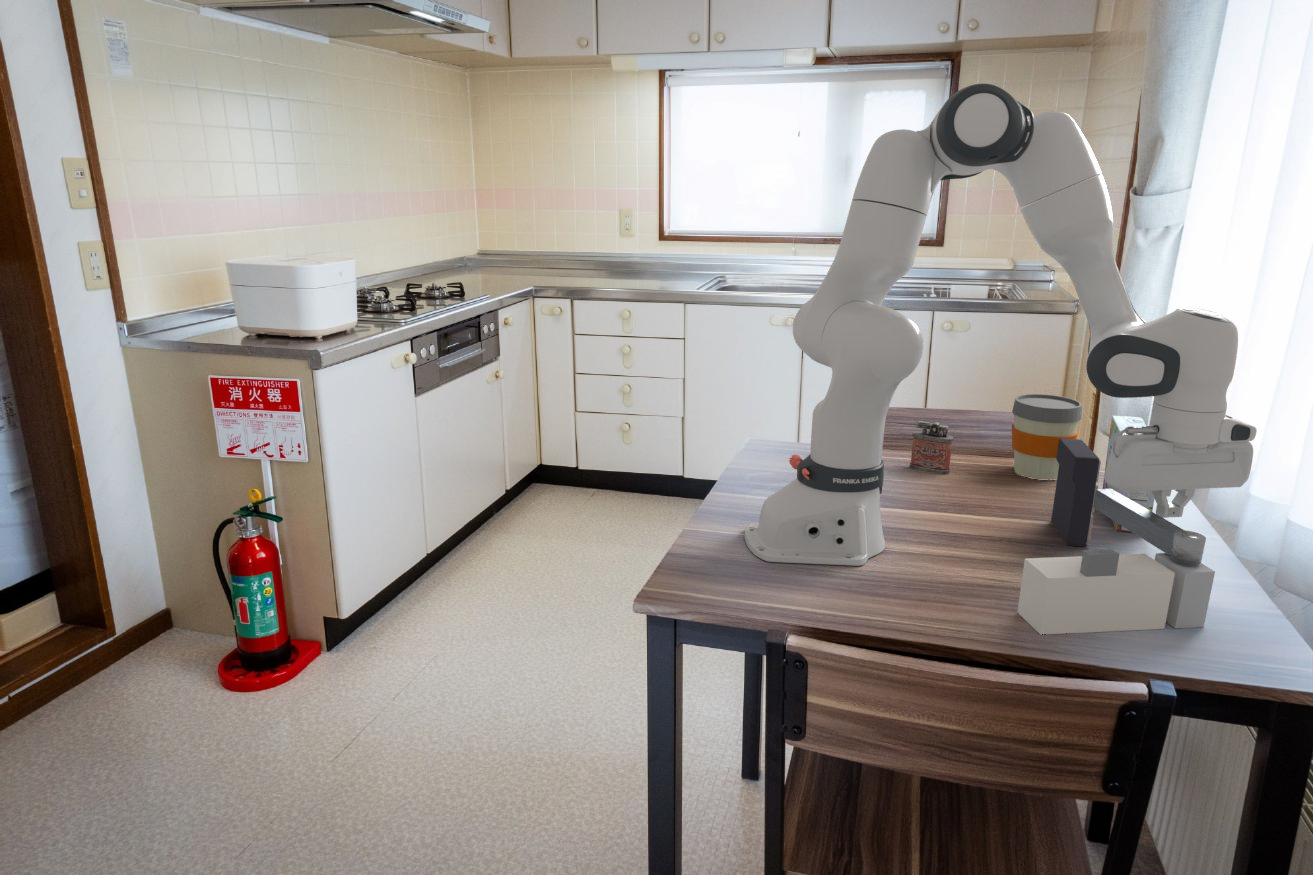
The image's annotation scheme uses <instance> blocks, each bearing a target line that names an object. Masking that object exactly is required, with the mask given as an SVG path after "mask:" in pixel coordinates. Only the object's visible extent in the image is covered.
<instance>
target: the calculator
mask: <svg viewBox="0 0 1313 875" xmlns="http://www.w3.org/2000/svg"><path fill="white" fill-rule="evenodd" d="M1056 459H1057V461H1058V463H1059V469H1058V476H1057V480H1056V483H1055V484H1056V486H1055V491H1054V497H1053V504H1052V513H1051V519H1050V520H1051V523H1052V524H1053V525H1054V527H1055V529H1056V531H1057V532H1058V534H1059V535H1060V538H1061V539H1062V540H1063V541H1064V544H1065V545H1066V546H1073V547H1086V546H1087V544H1090V542H1091V536H1092V530H1093V529H1092V528H1093V522H1094V515H1093V514H1095V512H1096V511H1095V510H1096V509H1094V508H1093V505H1094V498H1095V492H1096V489H1099V485H1098V482H1099V476H1100V472H1101V471H1100V470H1101V464H1102V461H1101V459H1100V457H1098V456H1097V455H1096V453H1095V452H1094V451H1093V450H1092V449H1091V448H1090V447H1089V445H1087V444H1086V442H1084V441H1083V440H1082V439H1078V438H1076V439H1061V438H1060V439H1059V442H1058V449H1057V456H1056Z"/></svg>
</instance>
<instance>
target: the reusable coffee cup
mask: <svg viewBox="0 0 1313 875" xmlns="http://www.w3.org/2000/svg"><path fill="white" fill-rule="evenodd" d="M1014 398H1015V399H1014V402H1013V406H1012V411H1011V412H1012V414H1013V423H1012V425H1011V447H1012V449H1013V450H1014V451H1013V452H1014V453H1013V456H1014V462H1013V463H1014V470H1015V471H1014V473H1015V472H1016V473H1019V474H1020V475H1024V476H1026V477H1032V478H1035V479H1048V480H1050V479H1052V480H1053V479H1057V476H1058V469H1059V463H1058V461H1057V459H1056V456H1057V449H1058V442H1059V439H1060V438H1061V439H1078V438H1077V437H1078V433H1079V432H1078V430H1077V429H1078V426H1079V422H1080V421H1081V420H1082V414H1083V412H1082V411H1083V409H1082V408H1083V403H1082V402H1080V401H1079V400H1077V399H1075V398H1070V397H1066V396H1061V395H1056V394H1047V393H1046V394H1045V393H1029V394H1028V393H1027V394H1020V395H1018V396H1016V397H1014ZM1016 473H1015V474H1016ZM1020 475H1019V476H1020Z"/></svg>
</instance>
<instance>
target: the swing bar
mask: <svg viewBox="0 0 1313 875" xmlns="http://www.w3.org/2000/svg"><path fill="white" fill-rule="evenodd" d="M1093 508H1094V509H1095V510H1096V511H1098V512H1099V513H1100V514H1102V515H1104V516H1106V517H1107V518H1108V519H1110V520H1111V521H1112V520H1114V521H1115V522H1117V523H1118V524H1120V525H1122V526H1123V527H1125V528H1126V529H1128V530H1129V531H1131V532H1130V533H1132V532H1133V534H1134V535H1136V536H1137V537H1139V538H1141V539H1143V540H1144V541H1145V542H1147V543H1149V544H1150V545H1152V546H1153V547H1155V548H1157V549H1158V550H1160V551H1162V553H1166V554H1168V555H1169V556H1170V558H1171V559H1172V560H1173V561H1175V562H1178V563H1181V564H1185V565H1199V564H1201V563H1202V561H1203V556H1204V550H1205V545H1206V541H1207V538H1206V536H1205V535H1204V534H1201V533H1199V532H1195V531H1191V530H1185V529H1183V528H1181V527H1179V526H1178V525H1176V524H1174V523H1172V522H1170V520H1167V519H1166V518H1162V517H1160V516H1159V515H1157V514H1156V512H1153V511H1150V510H1148V509H1146V508H1145V507H1143V506H1141V505H1139V504H1137V503H1136V502H1134V501H1132V500H1130V499H1129V498H1127V497H1125V496H1123V495H1122V494H1120V493H1118V492H1116V491H1115V490H1113V489H1103V488H1098V489H1096V492H1095V498H1094V505H1093Z"/></svg>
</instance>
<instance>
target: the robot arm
mask: <svg viewBox="0 0 1313 875" xmlns="http://www.w3.org/2000/svg"><path fill="white" fill-rule="evenodd" d="M992 169H993V171H996V172H998V173H1000V174H1001V175H1003V176H1004V177H1005V179H1006V180H1007V182H1008V183H1009V184H1010V186H1011V188H1013V191H1014V195H1015V198H1016V201H1017V204H1018V206H1019V208H1020V211H1021V215H1022V217H1023V219H1024V221H1025V225H1027V228H1028V229H1029V231H1030V233H1031V235H1032V236H1033V238H1034V240H1035V241H1036V243H1037V245H1038V246H1039V247H1040V249H1041V250H1042V251H1043V252H1044V253H1045V254H1047V256H1050V257H1051V258H1053V260H1055V261H1056V262H1057V263H1058V264H1059V265H1060V266H1061V267H1062V268H1063V269H1064V270H1065V273H1067V276H1069V278H1070V281H1071V282H1072V285H1073V287H1074V289H1075V292H1076V294H1077V297H1078V299H1079V301H1080V304H1081V307H1082V309H1083V313H1084V315H1085V318H1086V319H1087V323H1088V328H1089V339H1088V346H1087V347H1088V348H1087V360H1086V364H1085V365H1086V366H1085V367H1086V374H1087V377H1088V379H1089V382H1090V383H1091V385H1092V386H1093V387H1094V388H1095V389H1096V390H1097V391H1099V392H1101V393H1102V394H1104V395H1105V396H1109V397H1111V398H1112V397H1113V398H1119V399H1120V398H1122V399H1124V398H1125V399H1131V398H1136V399H1137V398H1148V397H1150V398H1151V397H1153V402H1152V408H1151V412H1150V413H1151V414H1150V418H1149V424H1148V425H1146V426H1142V427H1135V426H1130V427H1126V428H1125V430H1122V431H1121V432H1119V433H1118V434H1117V435H1116V436H1115V438H1114V443H1113V448H1112V450H1111V453H1110V456H1109V459H1108V463H1107V466H1106V465H1105V466H1106V470H1105V469H1104V474H1105V475H1103V480H1104V479H1105V481H1106V483H1107V484H1108V485H1109V486H1110V487H1112V488H1114V489H1116V490H1118V491H1120V492H1132V491H1152V494H1153V496H1154V502H1155V503H1156V507H1155V514H1157V515H1159V516H1160V517H1162V518H1164V519H1166V518H1167V519H1168V518H1182V516H1183V514H1184V508H1185V507H1186V506H1187V505H1188V503H1189V502H1190V501H1191V500H1192V499H1193V497H1194V496H1195V492H1196V490H1199V489H1200V490H1202V489H1205V490H1207V489H1223V488H1224V489H1226V488H1227V489H1229V488H1230V489H1231V488H1240V487H1243V485H1245V484H1246V483H1247V482H1248V480H1249V477H1250V474H1251V469H1252V466H1253V465H1252V463H1253V458H1254V446H1253V444H1252V443H1251V442H1252V441H1254V440H1255V438H1256V436H1257V431H1258V430H1257V428H1256V426H1254V425H1251V424H1249V423H1247V422H1244V421H1242V420H1238V419H1236V418H1234V417H1232V416H1230V415H1228V414H1227V408H1228V402H1227V392H1228V389H1229V387H1230V385H1231V383H1232V380H1233V379H1234V374H1235V369H1236V364H1237V363H1236V362H1237V356H1238V349H1239V348H1238V347H1239V346H1238V345H1239V332H1238V328H1237V325H1235V323H1234V322H1233V321H1232V319H1230V318H1229V317H1227V316H1225V315H1223V314H1220V313H1218V312H1215V311H1211V310H1207V309H1202V308H1197V307H1178V308H1177V309H1175V310H1174V311H1172V312H1170V313H1168V314H1166V315H1164V316H1161V317H1159V318H1156V319H1154V320H1150V321H1148V322H1147V321H1146V320H1144V319H1143V318H1142V316H1140V315H1139V314H1138V313H1137V311H1136V309H1135V308H1134V306H1133V303H1132V301H1131V299H1130V296H1129V293H1128V291H1127V289H1126V286H1125V283H1124V280H1123V279H1122V276H1121V275H1122V274H1120V273H1121V272H1120V270H1119V267H1118V265H1117V261H1116V258H1115V253H1114V252H1115V251H1114V241H1113V240H1114V239H1113V238H1114V219H1113V210H1112V204H1111V199H1110V195H1109V192H1108V189H1107V184H1106V182H1105V178H1104V176H1103V174H1102V170H1101V168H1100V166H1099V163H1098V161H1097V158H1096V156H1095V154H1094V152H1093V150H1092V148H1091V145H1090V144H1089V141H1088V140H1087V138H1086V137H1085V135H1084V134H1083V132H1082V130H1081V128H1080V127H1079V125H1078V124H1077V123H1076V121H1075V120H1074V119H1073V118H1072V116H1070V114H1068V113H1066V112H1063V111H1054V110H1053V111H1045V112H1040V113H1038V114H1035V115H1034V113H1033V111H1032V110H1031V109H1030V108H1028V107H1027V106H1025V105H1024V104H1022V103H1021V102H1020V101H1018V100H1017V99H1016V98H1014V97H1013V95H1011V94H1010V92H1008V91H1006V90H1005V89H1004V88H1001V87H1000V86H997V85H994V84H989V83H976V84H971V85H967V86H966V87H963V88H961V89H960V90H958V91H956V92H954V93H953V94H952V95H951V96H949V98H948V99H946V101H945V102H944V104H943V105H942V107H941V108H940V109H939V110H938V111H937V113H936V115H935V116H934V118H933V120H932V121H931V122H930V124H929V125H928V126H927V127H926V128H924V129H921V130H916V131H915V130H911V129H894V130H889V131H887V132H884V133H883V134H881V135H879V137H878V138H877V139H875V141H874V143H873V145H872V147H871V149H870V151H869V153H868V155H867V158H866V160H865V161H864V164H863V166H862V169H861V172H860V175H859V177H858V179H857V180H858V181H857V182H856V186H855V190H854V191H853V196H852V200H851V203H850V207H849V211H848V215H847V217H846V222H845V225H844V229H843V231H842V232H843V233H842V235H841V239H840V242H839V246H838V249H837V252H836V255H835V256H834V259H833V261H832V263H831V265H830V267H829V270H828V271H827V273H826V275H825V277H824V279H822V281H821V284H820V285H819V287H818V288H817V290H816V292H815V293H814V295H813V296H812V297H811V298H810V299H809V300H808V301H806V302H805V303H804V304H803V305H802V306H801V307H800V308H799V309H798V310H797V313H796V314H795V317H794V318H793V322H792V336H793V339H794V341H795V344H796V345H797V346H798V347H799V349H800V350H801V351H802V352H803V354H805V355H806V356H808V357H809V358H810V359H811V360H813V361H814V362H816V363H818V364H820V365H823V366H826V367H828V368H831V370H832V371H831V372H832V373H831V379H830V384H829V385H828V389H827V392H826V394H825V396H824V398H823V399H822V400H819V402H818V403H817V404H816V405H815V406H814V409H813V411H812V418H811V419H812V420H811V421H812V422H811V433H810V434H811V436H810V439H811V440H810V452H809V455H808V456H806V457H805V458H804V459H802V458H801V456H800V455H798V454H792V455H791V456H790V457H789V459H788V462H789V464H790V465H791V468H793V470H796V478H794V480H793V481H791V482H790V483H788V484H787V485H785V486H783V487H782V488H781V489H779V490H778V491H775V492H774V493H773V494H771V495H770V496H768V497H767V498H766V499H765V500H764V501H763V504H762V507H761V509H760V512H759V518H758V521H757V522H752V523H749V524H748V525H747V526H746V527H745V530H744V541H745V545H746V546H747V547H748V549H749V550H750V552H751V553H753V555H755V556H756V557H757V558H759V559H761V560H763V561H765V562H768V563H769V562H770V563H787V564H788V563H789V564H790V563H792V564H811V565H812V564H813V565H833V566H834V565H836V566H855V567H856V566H858V567H859V566H863V565H865V564H866V563H867V562H868V560H869V559H870V558H872V557H875V556H876V555H879V554H880V553H882V552H883V551H884V550H885V548H886V540H885V537H884V533H883V525H882V517H881V495H882V493H883V492H882V491H883V486H884V479H885V467H884V466H885V463H884V460H883V448H884V447H883V446H884V438H885V437H884V436H885V429H886V427H885V426H886V420H887V413H888V411H889V407H890V405H891V402H892V399H893V397H894V394H895V392H896V390H897V388H898V386H899V385H901V384H900V383H901V382H902V381H904V380H905V379H906V378H908V377H909V376H910V375H912V373H914V371H915V370H916V369H917V367H918V365H919V364H920V361H921V359H922V356H923V352H924V337H923V333H922V332H921V329H920V328H919V326H918V325H917V324H916V323H915V322H914V321H913V320H911V319H910V318H908V317H907V316H906V315H905V314H903V313H901V312H899V311H897V310H896V309H893V308H891V307H888V306H883V302H884V300H885V299H886V296H887V295H888V293H889V292H890V290H891V289H892V287H894V285H895V284H896V283H897V281H899V280H900V279H901V278H903V277H905V275H907V274H908V273H909V272H910V271H911V269H912V268H913V266H914V263H915V259H916V256H917V252H918V249H919V246H920V242H921V239H922V234H923V231H924V227H925V224H926V220H927V216H928V213H929V208H930V205H931V202H932V198H933V195H934V192H935V190H936V188H937V186H938V184H939V183H940V181H945V180H958V179H966V178H967V179H968V178H971V177H975V176H978V175H979V174H981V173H983V172H984V171H987V170H992ZM1226 414H1227V415H1226ZM1123 433H1126V434H1123ZM1172 491H1175V492H1176V494H1175V496H1174V498H1173V499H1172V501H1171V502H1169V500H1168V498H1169V497H1171V495H1172ZM1167 497H1168V498H1167Z"/></svg>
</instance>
